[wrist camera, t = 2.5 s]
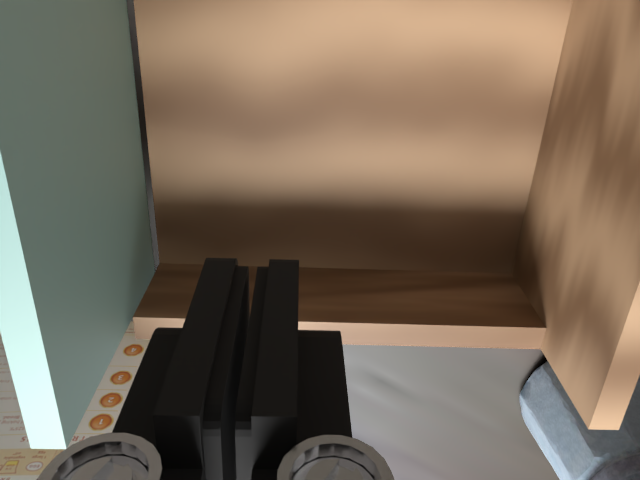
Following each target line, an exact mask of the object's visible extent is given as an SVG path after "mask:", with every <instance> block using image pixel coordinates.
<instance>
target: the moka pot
mask: <svg viewBox="0 0 640 480" xmlns="http://www.w3.org/2000/svg"><path fill="white" fill-rule="evenodd" d="M520 405H521V410H522V416H523V419H524V421H525V424H526V425H527V427H528V429H529V430H530V432H531V433H532V435H533V437H534V438H535V440H536V441H537V443H538V445H539V446H540V448H541V450H542V452H543V453H544V455H545V456H546V458H547V459H548V461H549V462H550V464H551V465H552V467H553V469H554V470H555V472H556V474H557V476H558V477H559V479H560V480H640V375H639V378H638V381H637V383H636V386H635V389H634V391H633V394H632V397H631V399H630V402H629V404H628V407H627V410H626V412H625V415H624V418H623V420H622V423H621V426H620V428H619V430H594V429H588V428H587V426H586V424H585V423H584V421H583V419H582V418H581V416H580V414H579V413H578V411H577V409H576V408H575V406H574V404H573V403H572V401H571V399H570V397H569V396H568V394H567V392H566V391H565V389H564V387H563V386H562V384H561V382H560V381H559V379H558V377H557V376H556V374H555V372H554V371H553V369H552V367H551V365H550V364H549V362H548V361H547V362H546V363H545V364H543V365H542V366H540V367H539V368H537V369H536V370H535V371H534V372H533V373H532V375H531V376H530V377H529V379H528V380H527V382H526V383H525V385H524V387H523V389H522V390H521V393H520Z"/></svg>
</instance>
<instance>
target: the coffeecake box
mask: <svg viewBox="0 0 640 480" xmlns="http://www.w3.org/2000/svg"><path fill="white" fill-rule="evenodd" d="M149 341H150V339H135V332H134V324H133V321H131V322H130V324H129V326H128V328H127V330H126V332H125V334H124V336H123V338H122V340H121V342H120V344H119V346H118V348H117V350H116V352H115V354H114V356H113V358H112V360H111V362H110V364H109V366H108V368H107V370H106V372H105V374H104V376H103V378H102V380H101V382H100V384H99V386H98V388H97V390H96V392H95V394H94V396H93V398H92V400H91V402H90V404H89V406H88V408H87V410H86V412H85V414H84V416H83V418H82V420H81V422H80V424H79V426H78V428H77V430H76V432H75V434H74V436H73V438H72V440H71V442H70V444H69V446H68V447H70V446H71V445H72V444H75V443H77V442H79V441H82V440H84V439H86V438H89V437H91V436H96V435H101V434H105V433H112V431H113V429H114V426H115V424H116V421H117V419H118V416H119V414H120V412H121V409H122V407H123V404H124V402H125V399H126V397H127V395H128V392H129V390H130V387H131V385H132V383H133V380H134V378H135V375H136V373H137V370H138V368H139V366H140V363H141V361H142V358H143V356H144V353H145V351H146V349H147V346H148V344H149ZM64 450H65V449H31V448H30V444H29V440H28V436H27V432H26V429H25V425H24V421H23V417H22V413H21V409H20V406H19V402H18V398H17V394H16V390H15V386H14V383H13V379H12V375H11V371H10V367H9V364H8V360H7V356H6V352H5V348H4V344H3V341H2V337H1V333H0V480H37V478H38V477H39V475H40V474H41V473H42V471H43V470H44V469H45V467H46V466H47V465H48V464H49V463H50V462H51V461H52V460H53V459H54V458H55V457H56V456H57V455H58V454H59V453H61V452H62V451H64Z"/></svg>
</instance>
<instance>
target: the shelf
mask: <svg viewBox="0 0 640 480" xmlns="http://www.w3.org/2000/svg"><path fill="white" fill-rule="evenodd" d="M134 9H135V19H136V29H137V40H138V50H139V60H140V70H141V80H142V90H143V100H144V110H145V120H146V130H147V140H148V150H149V160H150V171H151V181H152V191H153V201H154V211H155V221H156V231H157V241H158V251H159V261H160V264H159V266H158V268H157V270H156V272H155V274H154V276H153V278H152V280H151V282H150V284H149V286H148V288H147V290H146V292H145V294H144V295H143V297H142V299H141V301H140V303H139V305H138V307H137V309H136V311H135V313H134V315H133V324H134V332H135V339H151V337H152V334H153V332H154V331H155V329H156V328H158V327H163V328H182V327H183V324H184V322H185V319H186V316H187V313H188V310H189V307H190V304H191V301H192V298H193V295H194V292H195V289H196V286H197V283H198V280H199V277H200V274H201V271H202V268H203V265H204V262H205V259H206V258H237V260H238V266H248V267H249V301H250V312H251V305H252V299H253V292H254V286H255V279H256V273H257V267H269V259H285V260H299V302H298V330H330V331H340V332H341V337H342V344H353V345H394V346H434V347H474V348H515V349H541V350H542V352H543V354H544V355H545V357H546V359H547V360H548V362H549V364H550V365H551V367H552V369H553V371H554V372H555V374H556V376H557V377H558V379H559V381H560V382H561V384H562V386H563V387H564V389H565V391H566V392H567V394H568V396H569V397H570V399H571V401H572V403H573V404H574V406H575V408H576V409H577V411H578V413H579V414H580V416H581V418H582V419H583V421H584V423H585V424H586V426H587V428H588V429H594V430H619V428H620V426H621V423H622V420H623V418H624V415H625V412H626V410H627V407H628V404H629V402H630V399H631V397H632V394H633V391H634V389H635V386H636V383H637V381H638V378H639V375H640V0H134Z"/></svg>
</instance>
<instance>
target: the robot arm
mask: <svg viewBox="0 0 640 480" xmlns="http://www.w3.org/2000/svg"><path fill="white" fill-rule="evenodd" d="M298 302H299V260H285V259H269V267H257V273H256V279H255V286H254V292H253V299H252V305H251V312H250V301H249V267H248V266H238V260H237V258H206V259H205V262H204V265H203V268H202V271H201V274H200V277H199V280H198V283H197V286H196V289H195V292H194V295H193V298H192V301H191V304H190V307H189V310H188V313H187V316H186V319H185V322H184V324H183V327H182V328H163V327H158V328H156V329H155V331H154V332H153V334H152V337H151V339H150V341H149V344H148V346H147V349H146V351H145V353H144V356H143V358H142V361H141V363H140V366H139V368H138V370H137V373H136V375H135V378H134V380H133V383H132V385H131V387H130V390H129V392H128V395H127V397H126V399H125V402H124V404H123V407H122V409H121V412H120V414H119V416H118V419H117V421H116V424H115V426H114V429H113V431H112V433H105V434H101V435H96V436H91V437H89V438H86V439H84V440H82V441H79V442H77V443H75V444H72V445H71V446H70V447H68V448H67V449H65V450H64V451H62V452H61V453H59V454H58V455H57V456H56V457H55V458H54V459H53V460H52V461H51V462H50V463H49V464H48V465H47V466H46V467H45V469H44V470H43V471H42V473H41V474H40V475H39V477H38V478H37V480H394V477H393V475H392V472H391V470H390V468H389V466H388V465H387V463H386V461H385V459H384V458H383V457H382V456H381V455H380V454H379V453H378V452H377V451H376V450H375V449H374V448H373V447H371V446H369V445H367V444H365V443H364V442H362V441H360V440H358V439H355V438H352V432H351V422H350V413H349V403H348V394H347V385H346V375H345V366H344V356H343V347H342V337H341V332H340V331H330V330H298Z"/></svg>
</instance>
